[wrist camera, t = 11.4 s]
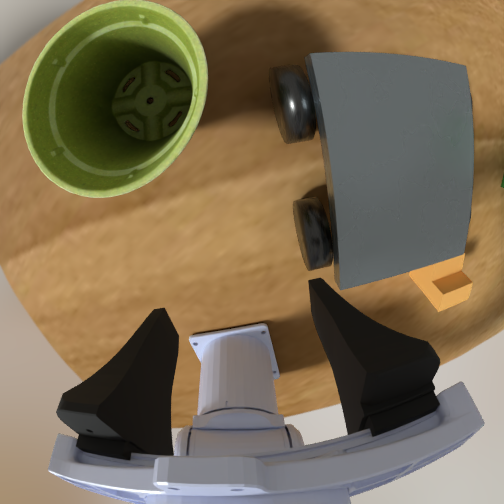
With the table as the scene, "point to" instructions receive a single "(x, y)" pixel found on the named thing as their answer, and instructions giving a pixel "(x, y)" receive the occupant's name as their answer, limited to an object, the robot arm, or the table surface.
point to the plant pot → (114, 98)
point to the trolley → (381, 160)
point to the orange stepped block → (444, 282)
